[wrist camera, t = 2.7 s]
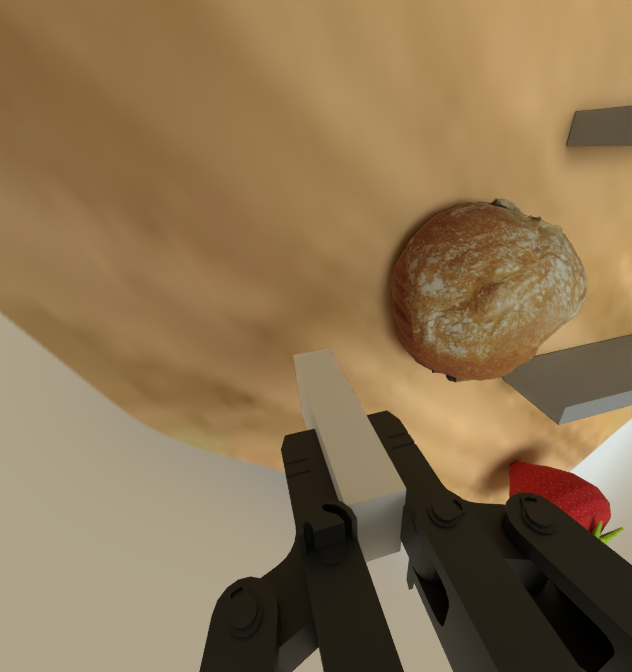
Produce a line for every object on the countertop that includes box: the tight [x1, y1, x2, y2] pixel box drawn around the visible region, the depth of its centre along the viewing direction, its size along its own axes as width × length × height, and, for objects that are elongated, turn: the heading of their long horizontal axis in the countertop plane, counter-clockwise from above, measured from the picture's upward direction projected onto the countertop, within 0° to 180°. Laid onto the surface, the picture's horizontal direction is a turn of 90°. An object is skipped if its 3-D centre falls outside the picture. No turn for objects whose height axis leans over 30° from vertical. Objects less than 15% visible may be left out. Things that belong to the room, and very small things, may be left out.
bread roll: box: [391, 199, 587, 382], centre depth 18 cm, size 10×10×8 cm
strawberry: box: [509, 462, 623, 544], centre depth 27 cm, size 6×8×10 cm
